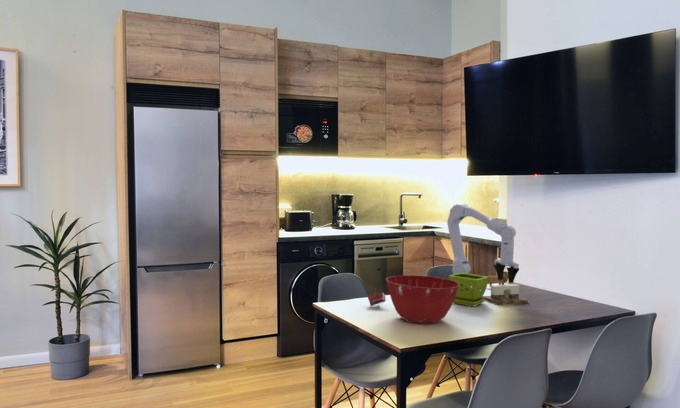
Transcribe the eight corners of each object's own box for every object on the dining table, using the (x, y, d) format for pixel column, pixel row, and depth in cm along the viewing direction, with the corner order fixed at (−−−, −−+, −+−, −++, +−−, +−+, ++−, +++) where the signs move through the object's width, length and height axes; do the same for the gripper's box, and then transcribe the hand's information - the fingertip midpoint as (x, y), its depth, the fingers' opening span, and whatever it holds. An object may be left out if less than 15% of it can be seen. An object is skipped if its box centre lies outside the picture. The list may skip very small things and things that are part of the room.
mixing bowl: (409, 307, 236) (411, 272, 236) (470, 320, 218) (472, 281, 218) (370, 318, 214) (371, 279, 214) (434, 333, 196) (436, 290, 196)
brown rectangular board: (498, 304, 249) (498, 294, 249) (481, 299, 260) (482, 288, 260) (527, 303, 256) (528, 292, 256) (510, 297, 267) (511, 287, 267)
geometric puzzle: (364, 302, 233) (376, 288, 233) (364, 299, 240) (375, 285, 240) (377, 313, 233) (389, 298, 233) (376, 309, 240) (388, 295, 240)
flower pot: (475, 308, 240) (476, 279, 240) (446, 303, 249) (447, 275, 248) (488, 303, 251) (489, 276, 251) (459, 298, 260) (461, 272, 259)
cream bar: (494, 295, 254) (495, 286, 254) (490, 293, 257) (491, 285, 257) (519, 293, 259) (519, 285, 259) (514, 292, 262) (515, 284, 262)
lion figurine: (505, 287, 296) (506, 270, 295) (510, 289, 290) (511, 272, 290) (480, 287, 292) (481, 270, 291) (485, 289, 287) (486, 272, 286)
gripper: (524, 254, 252) (523, 283, 253) (503, 250, 266) (502, 278, 266) (512, 254, 250) (510, 284, 250) (491, 250, 263) (490, 278, 264)
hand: (505, 281), depth 258 cm, fingers open, 7 cm apart
